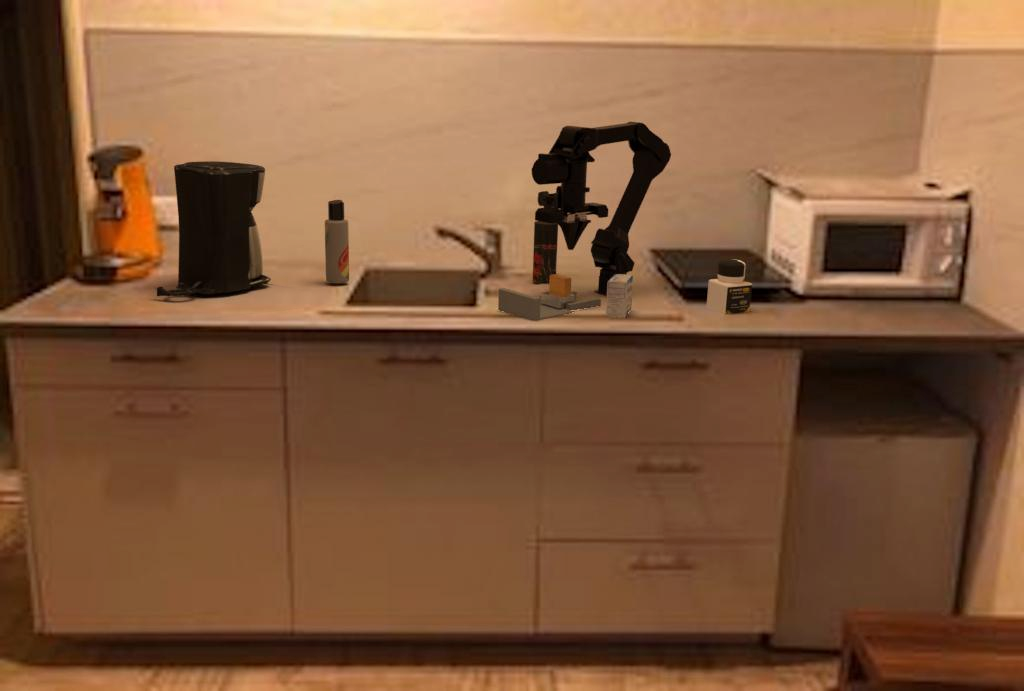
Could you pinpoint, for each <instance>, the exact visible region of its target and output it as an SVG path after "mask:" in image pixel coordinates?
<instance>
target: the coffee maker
mask: <svg viewBox="0 0 1024 691" xmlns="http://www.w3.org/2000/svg"><path fill="white" fill-rule="evenodd" d="M173 170H174V182H175V183H174V184H175V192H176V194H175V195H176V202H177V203H176V205H177V215H178V272H177V273H178V279H177V280H178V281H177V286H176V289H175V288H174V289H169V290H167V289H165V288H164V286H157V287H154V289H156V296H157V297H181V296H186V295H192V294H193V295H194V294H199V295H215V294H222V293H223V294H225V293H233V292H238V291H243V290H250V289H251V288H253V287H256V286H260V285H266V284H268V283H269V282H270V281H272V279H271V277H269V276H267V275H265V274H263V254H262V253H263V252H262V246H261V239H260V233H259V228H258V225H257V222H256V220H255V217H254V215H253V213H252V211H253V210H254V208H256V206H257V205H258V204H259V203H261V200H262V196H263V190H264V183H265V178H266V177H265V175H266V168H265V167H264V166H261V165H257V164H252V163H242V162H232V161H218V160H217V161H213V160H212V161H209V160H208V161H188V162H184V163H181V164H175V165H174V166H173Z"/></svg>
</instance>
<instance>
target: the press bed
mask: <svg viewBox="0 0 1024 691" xmlns="http://www.w3.org/2000/svg"><path fill="white" fill-rule="evenodd" d="M571 294H573V295H575V302H573V303H568V304H566V307H564V308H556V307H552V306H549V305H545V304H542V303H541V297H537V296H533V295H530V294H527V293H524V292H523V293H522V292H520V291H515V290H513V289H509V288H506V287H501V288H498V298H497V299H498V304H497V310H500V311H499V312H501V311H504V312H507V313H506V314H508V313H510V314H509V315H511V314H513V316H516V317H519V318H523V319H526V320H530V321H534V322H536V321H542V320H546V319H551V318H552V319H553V318H558V317H563V316H565V315H564V314H569V313H572V312H574V313H575V311H571V310H577V309H584V308H591V307H596V306H601V307H602V298H600V297H594V298H589V299H583V300H580V301H577V292H576V291H574V290H571ZM596 308H597V307H596ZM591 309H592V308H591ZM504 312H503V313H504ZM562 315H563V316H562ZM569 315H570V314H569Z"/></svg>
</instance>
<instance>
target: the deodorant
mask: <svg viewBox="0 0 1024 691" xmlns="http://www.w3.org/2000/svg"><path fill="white" fill-rule="evenodd" d="M558 237H559V225H558V224H557V223H554V224H553V223H546V222H541V221H536V220H534V228H533V256H532V282H533V283H536V284H541V285H542V284H544V285H545V284H546V285H547V284H548V285H549V280H550V275H553V274H557V264H558V263H557V261H558V242H559V241H558V239H559V238H558Z"/></svg>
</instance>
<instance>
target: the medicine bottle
mask: <svg viewBox="0 0 1024 691" xmlns="http://www.w3.org/2000/svg"><path fill="white" fill-rule="evenodd" d="M717 264H718V265H717V266H718V267H717V274H716V275H717V278H712V279H708V285H707V286H708V287H707V296H706V297H707V298H706V309H708V310H710V311H713V312H717V313H720V314H723V315H733V314H734V315H735V314H744V313H749V312H750V310H751V301H752V290H753V289H752V288H753V283H751V282H748V281H745V275H746V266H747V265H746V263H745V262H744V261H742V260H740V259H734V258H725V259H722V260H719V262H718V263H717Z"/></svg>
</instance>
